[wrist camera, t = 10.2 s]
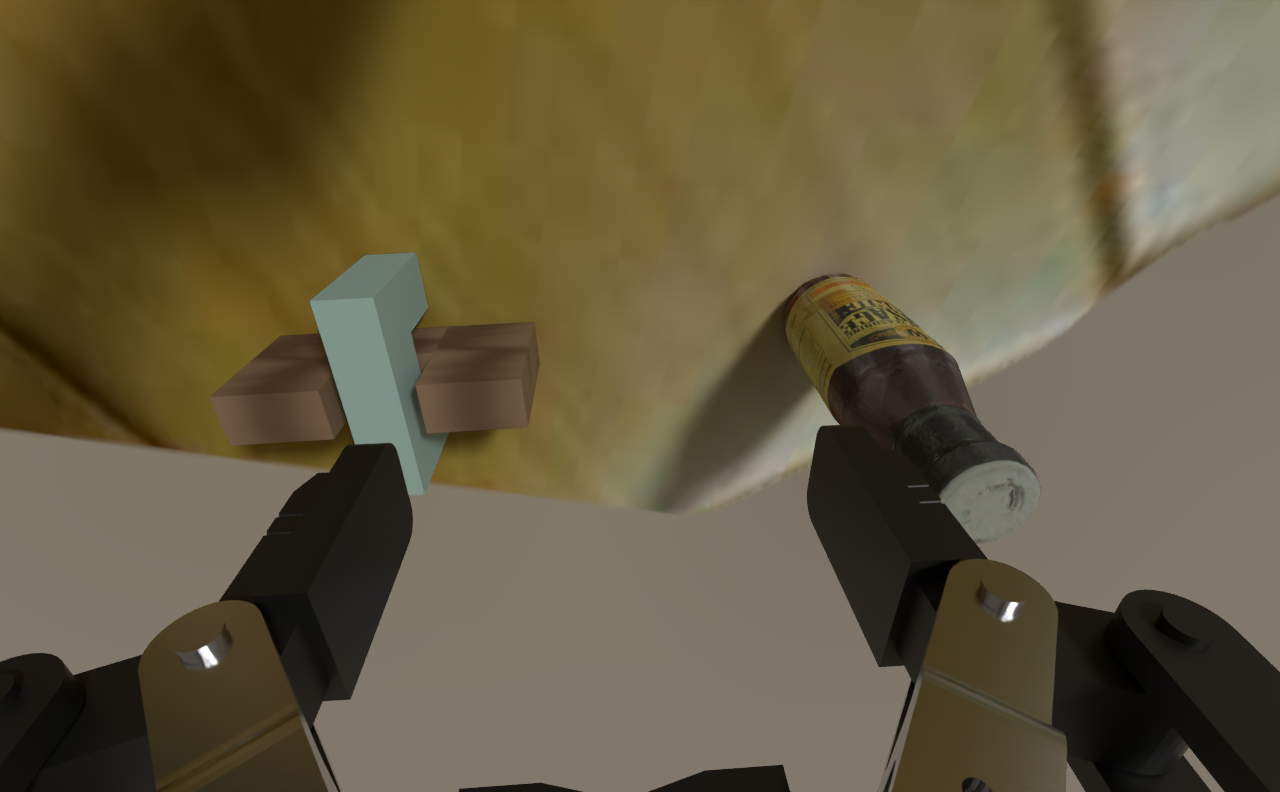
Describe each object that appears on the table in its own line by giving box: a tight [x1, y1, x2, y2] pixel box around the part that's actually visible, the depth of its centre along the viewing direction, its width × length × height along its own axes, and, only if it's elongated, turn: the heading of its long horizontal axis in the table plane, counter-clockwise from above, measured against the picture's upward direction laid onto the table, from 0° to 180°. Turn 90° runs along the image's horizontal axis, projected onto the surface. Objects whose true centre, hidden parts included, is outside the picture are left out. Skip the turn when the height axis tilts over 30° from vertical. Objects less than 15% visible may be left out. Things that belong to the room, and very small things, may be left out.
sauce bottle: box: [785, 274, 1041, 544], centre depth 31 cm, size 7×6×20 cm
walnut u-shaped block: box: [209, 322, 539, 446], centre depth 35 cm, size 16×3×8 cm, turn 92°
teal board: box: [310, 253, 449, 495], centre depth 35 cm, size 12×3×8 cm, turn 2°
